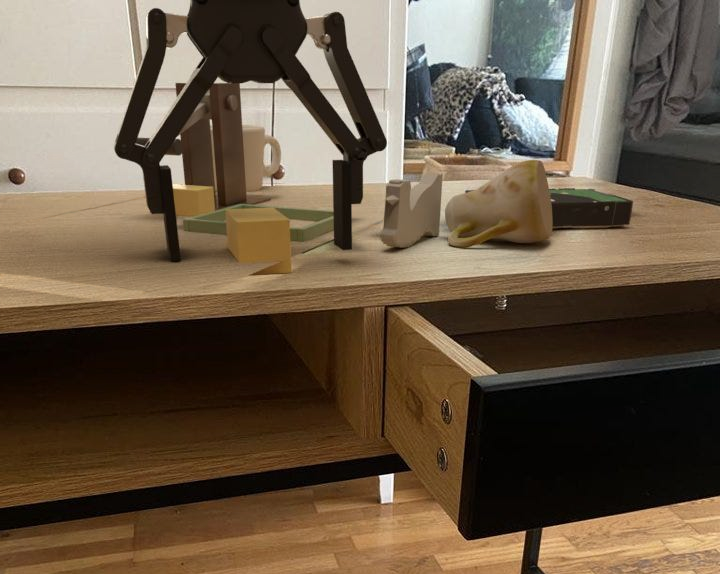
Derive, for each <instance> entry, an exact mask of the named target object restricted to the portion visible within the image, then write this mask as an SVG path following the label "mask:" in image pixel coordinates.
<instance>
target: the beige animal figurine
mask: <svg viewBox="0 0 720 574" xmlns="http://www.w3.org/2000/svg"><path fill="white" fill-rule="evenodd" d="M411 183H412V182H411V180H410V179H399V178H398V179H397V178H395V179H389V181H388V182H387V183H386V185H385V198H384V199H385V200H384V213H383V214H384V216H383V225H382V226H383V228H382V229H381V231H380V233H379V234H380V235H379V239H380V241H381V242H382V244H383V245H386V247H393V248H394V247H395V248H402V249H403V248H410V246H413V244H415V243H416V242H418V241H419V240H420V239H421V237H422V236H427V237H428V236H429V237H436V236H437V237H438V236H440V228H441V227H440V226H441V225H440V224H441V210H442V209H441V206H442V193H443V173H439V172H424V174H423V176H422V177H421V179H420V180H419V182H418V183H417V184H415V185H414V186H413V187H412V184H411Z"/></svg>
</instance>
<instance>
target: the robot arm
mask: <svg viewBox="0 0 720 574" xmlns="http://www.w3.org/2000/svg"><path fill="white" fill-rule="evenodd" d="M188 9H189V10H188V13H187V15H183V14H176V13H171V12H169V13H168V12H164V10H163V9H161V8H159V7H153V8H152V9H150V10H149V11H148V12H147V14H146V15H145V49H144V52H143V55H142V58H141V62H140V64H139V67H138V70H137V73H136V77H135V80H134V82H133V85H132V89H131V91H130V95H129V97H128V101H127V103H126V107H125V109H124V113H123V115H122V119H121V121H120V125H119V128H118V130H117V134H116V137H115V140H114V143H113V150H114V153H115V155H116V156H117V157H118V158H120V159H123V160H126V161H128V162H132V163H134V164H137V165H138V166H139V167H140V168H141V171H142V176H143V185H144V194H145V203H146V206H147V209H148V210H149V213H150V212H151V213H150V214H151V215H162V216H163V226H164V232H165V233H164V234H165V242H166V251H167V256H168V258H169V260H170V262H181V261H182V258H181V249H180V241H179V231H178V223H177V222H178V221H177V215H176V212H175V202H174V193H173V184H174V183H173V177H172V169H171V167H170V166H169V165H167V164H165V165H164V164H163V165H160V163H161V161H162V160H163V159H164V157H165V156H166V155H165V154H166V152H167V151H168V149H169V148H170V146H171V145H172V143H173V142H174V140H175V139H177V138H178V137H179V136H178V134H179V133H180V131H181V130H182V128H183V127H184V125H185V124H186V122H187V121H188V119H189V118H190V117H191V115H192V114H193V112H194V111H195V109H196V108H197V106H198V105H199V103H200V102H201V100H202V99H203V97H204V96H205V94H206V93H207V91H208V90H209V89H210V88H211V87H212V85H213V84H214V83H216V81H217V80H218V79H220V81H222V82H223V83H231V84H232V83H240V84H244V83H248V82H253V83H257V84H275V83H277V82H278V81H280V80H281V81H283V83H284V84H285V85H286V86H287V87H288V88H289V89H290V90H291V92H293V94H294V95H295V96H296V98H297V99H298V100H299V101H300V103H301V104H302V106H303V107H304V108H305V109H306V111H307V112H308V113H309V114H310V116H311V117H312V118H313V119H314V121H315V122H316V123H317V125H318V126H319V127H320V129H321V130H322V131H323V132H324V133H325V135H326V136H327V137H328V139H329V140H330V141H331V142H332V144H333V145H334V146H335V148H336V149H337V150H338V151H339V153H340V154H341V155H342V156H343V157H342V159H332V208H333V209H332V211H333V215H334V230H333V239H334V240H333V245H334V246H336V247H338V248H339V249H341V250H342V251H351V250H353V222H352V221H353V219H352V218H353V215H352V213H353V211H352V210H353V209H352V207H353V205H361V204H362V201H363V198H364V162H365V161H366V160H367V159H368V157H370V156H371V155H373V154H375V153H378V152H383V151H384V150H385V149H386V148H387V145H388V141H387V140H388V139H387V137H386V135H385V132H384V130H383V128H382V125H381V123H380V121H379V119H378V116H377V114H376V112H375V109H374V107H373V104H372V102H371V100H370V98H369V95H368V93H367V90H366V87H365V86H364V83H363V81H362V79H361V76H360V73H359V71H358V69H357V66H356V64H355V61H354V60H353V58H352V55H351V53H350V50H349V48H348V41H347V40H348V39H347V30H346V20H345V17H344V15H343V14H342V13H341V12H339V11H333V12H328V13H325V14H323V15H322V16H313V17H312V16H311V17H305V15H304V13H303V11H302V7H301V1H300V0H190V1H189V8H188ZM182 34H186V36H187V37H188V39H189V40H190V41H191V43H192V44H193V45H194V47H195V49H196V50H197V51H198V52H199V54H200V56H201V57H202V58H201V60H199V62H198V64H197V66H196V67H195V68H194V70H193V72H192V73H191V75H190V77H189V79H188V80H187V82H185V83H186V85H185V86H184V88H183V89H182V91H181V92H180V94H179V95H178V97H177V96H176V98H175V100H174V101H173V103H172V104H171V105H170V107H169V109H168V110H167V111H166V113H165V115H164V116H163V118H162V119H161V121H160V122H159V124H158V125H157V127H156V128H155V130H154V131H153V133H152V134H151V135H150V137H149V138H150V139H149V140H148V142H147V144H146V145H145V146H142V145H139V144H136V141H137V138H138V137H139V134H140V131H141V128H142V125H143V124H144V123H143V122H144V119H145V117H146V114H147V111H148V108H149V105H150V102H151V99H152V96H153V93H154V91H155V87H156V84H157V82H158V79H159V75H160V73H161V70H162V67H163V64H164V60H165V57H166V52H167V49H173V48H174V47H175V46H176V45H177V44H178V40H179V38H180V36H181V35H182ZM307 36H309V37H310V38H311V39H312V40H313V43H314V46H315V47H316V48H317V49H319V50H323V54H324V58H325V60H326V64H327V65H328V68H329V70H330V72H331V75H332V76H333V79H334V81H335V84H336V85H337V88H338V90H339V92H340V95H341V97H342V100H343V102H344V104H345V106H346V108H347V110H348V113H349V115H350V117H351V119H352V122H353V124H354V126H355V128H356V131H357V133H358V135H359V138H357V137H356V136H355V134H354V133H353V132H352V131H351V129H350V128H349V126H348V125H347V124H346V122H345V121H344V120H343V119H342V117H341V116H340V115H339V113H338V112H337V110H336V109H335V108H334V106H333V105H332V104H331V103H330V101H329V100H328V99H327V98H326V96H325V94H324V93H323V92H322V91H321V89H320V88H319V87H318V85H317V84H316V83H315V82H314V80H313V79H312V77H311V75H310V73H309V72H308V70H307V69H306V68H305V66H304V65H303V64H302V62H301V61H300V59H299V58H298V57H297V56H296V55H297V54H298V51H299V50H300V49H301V47H302V45H303V43H304V42H305V39H306V38H307ZM177 136H178V137H177Z"/></svg>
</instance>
